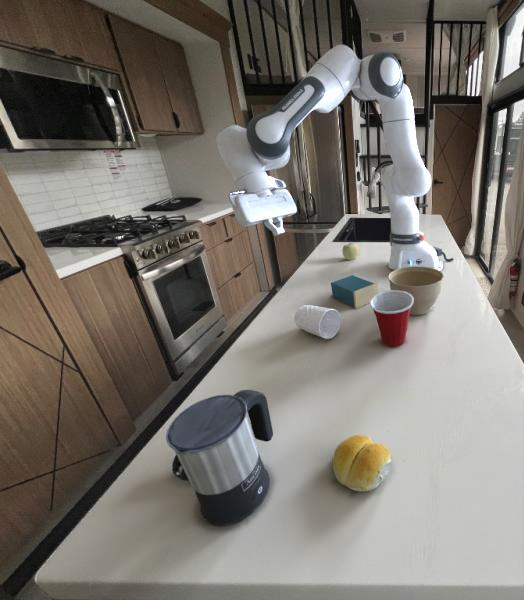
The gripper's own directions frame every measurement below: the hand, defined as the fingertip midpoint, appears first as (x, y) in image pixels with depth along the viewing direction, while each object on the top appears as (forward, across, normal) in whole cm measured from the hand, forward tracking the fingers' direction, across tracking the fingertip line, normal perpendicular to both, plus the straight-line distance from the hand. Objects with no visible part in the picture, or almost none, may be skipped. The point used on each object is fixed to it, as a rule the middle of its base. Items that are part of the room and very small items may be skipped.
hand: (279, 234), depth 94 cm
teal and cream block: (+22, +14, -1) cm, 27 cm away
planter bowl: (+37, +12, -25) cm, 46 cm away
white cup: (+23, -10, -3) cm, 26 cm away
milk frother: (+35, -52, -16) cm, 65 cm away
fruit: (+17, +47, +14) cm, 52 cm away
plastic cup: (+38, -8, -25) cm, 46 cm away
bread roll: (+43, -42, -33) cm, 69 cm away
